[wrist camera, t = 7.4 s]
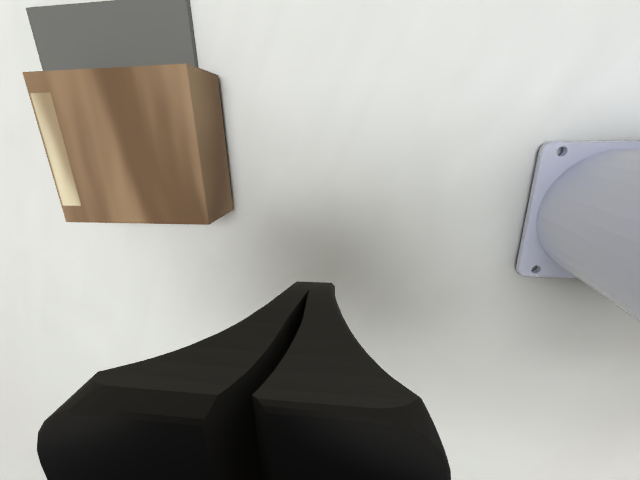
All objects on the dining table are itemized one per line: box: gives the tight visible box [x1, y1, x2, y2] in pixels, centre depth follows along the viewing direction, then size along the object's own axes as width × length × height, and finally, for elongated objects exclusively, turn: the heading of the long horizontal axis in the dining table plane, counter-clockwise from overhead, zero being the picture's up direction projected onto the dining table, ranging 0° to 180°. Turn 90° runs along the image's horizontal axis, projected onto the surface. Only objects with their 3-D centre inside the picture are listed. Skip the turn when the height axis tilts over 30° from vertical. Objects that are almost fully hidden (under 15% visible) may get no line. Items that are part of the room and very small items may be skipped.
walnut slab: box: [23, 64, 233, 224], centre depth 19 cm, size 4×8×9 cm
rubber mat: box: [26, 0, 198, 71], centre depth 20 cm, size 10×12×1 cm
